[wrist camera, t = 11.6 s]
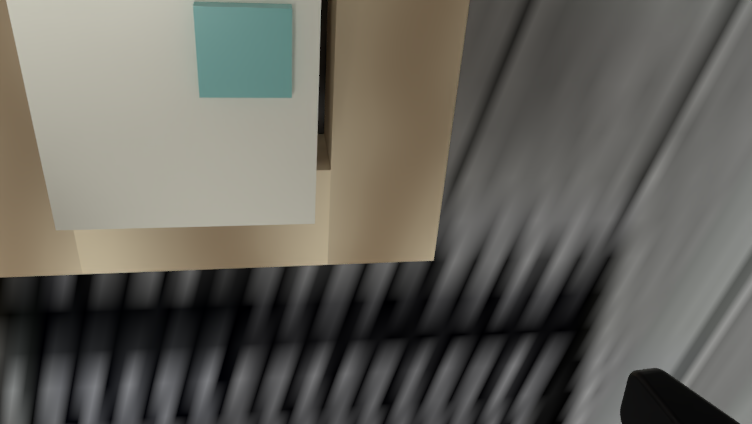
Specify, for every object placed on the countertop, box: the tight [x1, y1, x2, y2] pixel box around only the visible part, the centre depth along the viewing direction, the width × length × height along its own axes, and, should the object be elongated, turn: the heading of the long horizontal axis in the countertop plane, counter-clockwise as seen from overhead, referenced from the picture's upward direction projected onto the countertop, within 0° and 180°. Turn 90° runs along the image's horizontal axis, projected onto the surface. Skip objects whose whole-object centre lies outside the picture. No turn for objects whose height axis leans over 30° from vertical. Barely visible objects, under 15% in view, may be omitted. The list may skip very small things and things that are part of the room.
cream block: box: [6, 0, 321, 230], centre depth 15 cm, size 5×5×6 cm
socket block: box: [0, 0, 470, 277], centre depth 16 cm, size 12×12×2 cm
